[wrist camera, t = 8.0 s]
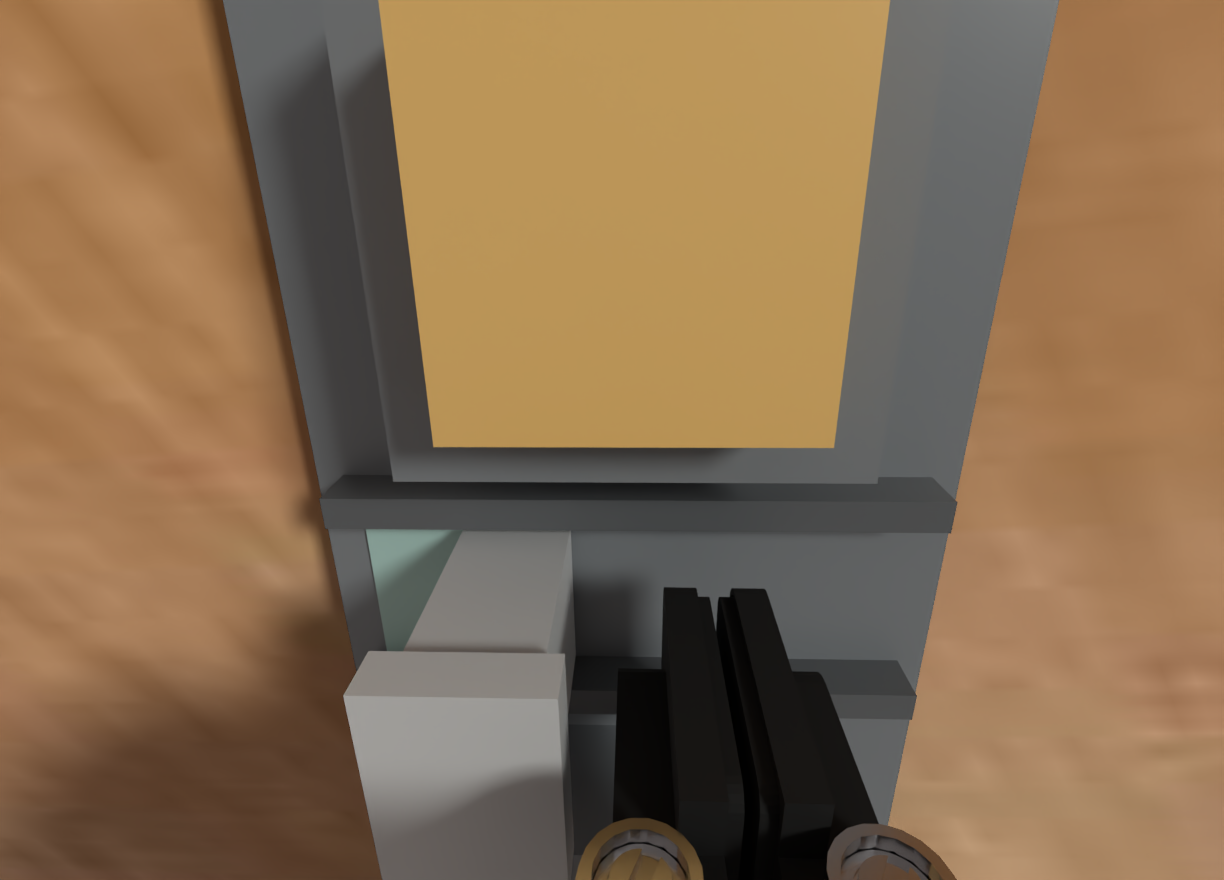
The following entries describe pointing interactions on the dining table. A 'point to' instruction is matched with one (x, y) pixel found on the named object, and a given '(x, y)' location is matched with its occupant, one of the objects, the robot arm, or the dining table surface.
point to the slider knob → (475, 719)
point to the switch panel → (659, 477)
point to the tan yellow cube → (634, 214)
